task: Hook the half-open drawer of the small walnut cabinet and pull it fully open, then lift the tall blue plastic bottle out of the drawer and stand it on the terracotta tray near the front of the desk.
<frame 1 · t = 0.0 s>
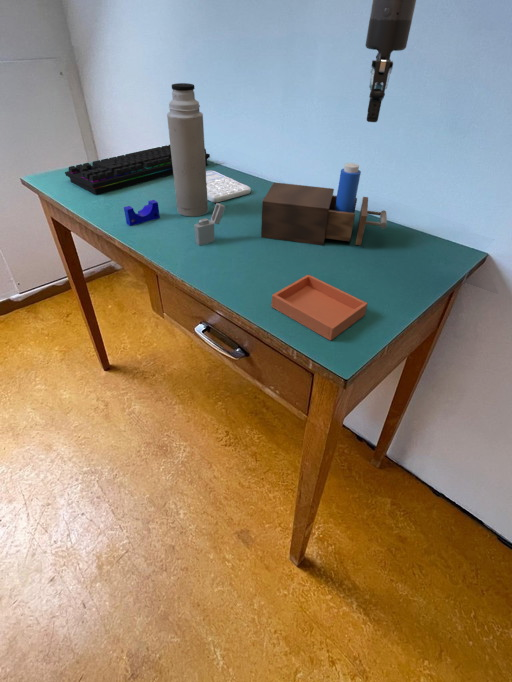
hand: (372, 117, 82), 24 cm above the table, tool pointing down, fingers open, 8 cm apart
lighter: (211, 241, 91), on the table
drawer: (345, 218, 91), point 4 cm above the table, slide at 7.0 cm, touching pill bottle
cabinet: (296, 230, 96), on the table
tray: (317, 311, 71), on the table
keyboard: (143, 173, 125), on the table
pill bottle: (341, 227, 93), point 2 cm above the table, touching drawer
calculator: (213, 189, 116), on the table
thermos bottle: (192, 211, 104), on the table
cable holder: (142, 220, 99), on the table
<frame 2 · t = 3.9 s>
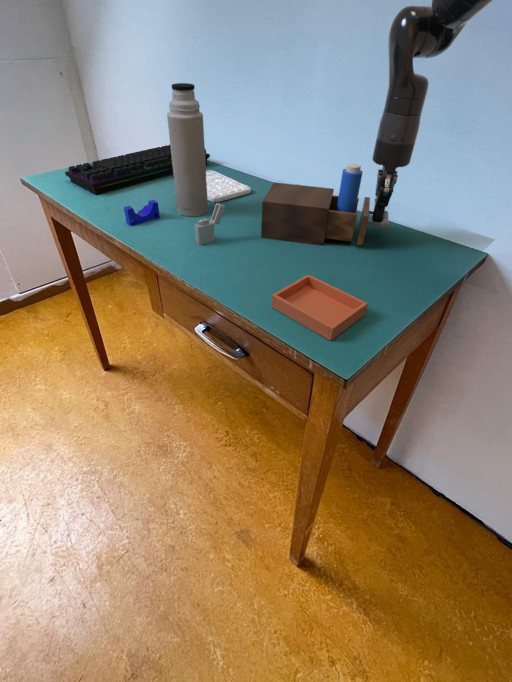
hand: (376, 220, 90), 5 cm above the table, tool pointing down, fingers closed
drawer: (347, 218, 91), point 4 cm above the table, slide at 7.4 cm, touching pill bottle
everything else where it was.
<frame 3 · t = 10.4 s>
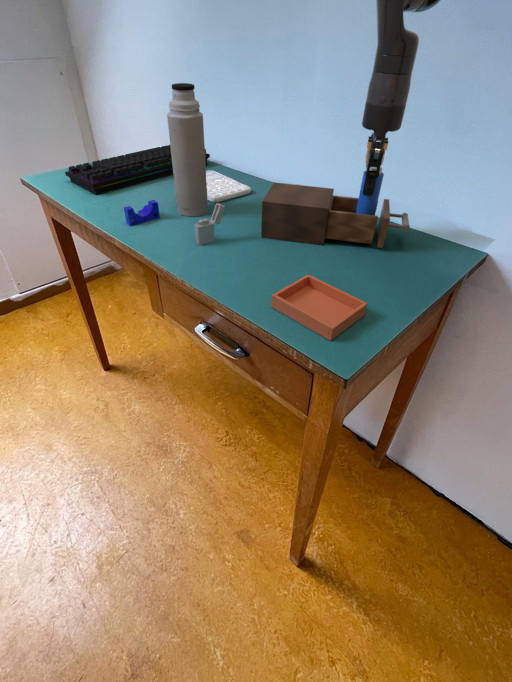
hand: (367, 190, 86), 11 cm above the table, tool pointing down, fingers closed on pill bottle, 4 cm apart
drawer: (366, 220, 91), point 4 cm above the table, slide at 11.8 cm, touching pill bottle
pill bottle: (361, 230, 92), point 2 cm above the table, touching drawer, gripper
everything else where it was.
when the fingers open (10 cm above the table, at t = 18.7 s): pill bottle stays where it is, resting on tray.
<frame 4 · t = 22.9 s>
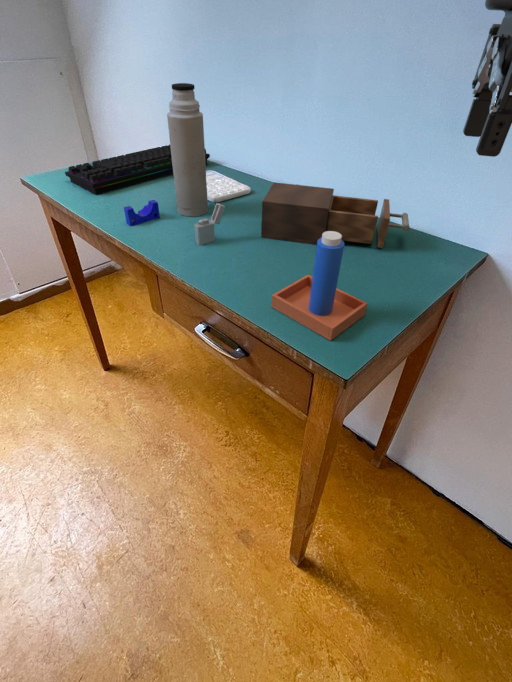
hand: (478, 144, 44), 30 cm above the table, tool pointing down, fingers open, 8 cm apart
drawer: (366, 220, 91), point 4 cm above the table, slide at 11.8 cm
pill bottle: (320, 308, 70), point 1 cm above the table, touching tray
everything else where it was.
at the end: drawer slide at 11.8 cm; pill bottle inside the target area in the tray (0.4 cm from its centre), point 0.6 cm above the tray's base; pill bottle tilted 0° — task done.
